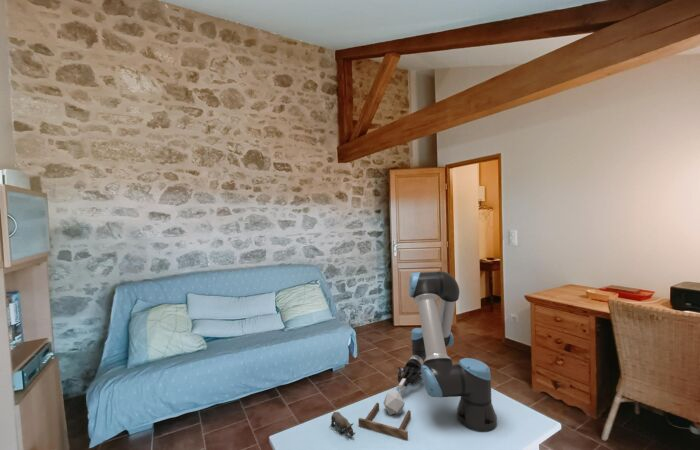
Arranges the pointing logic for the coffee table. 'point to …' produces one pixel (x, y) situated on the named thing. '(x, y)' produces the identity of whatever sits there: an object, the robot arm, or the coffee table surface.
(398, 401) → the die
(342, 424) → the rhino figurine
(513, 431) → the coffee table surface
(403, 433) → the frame
